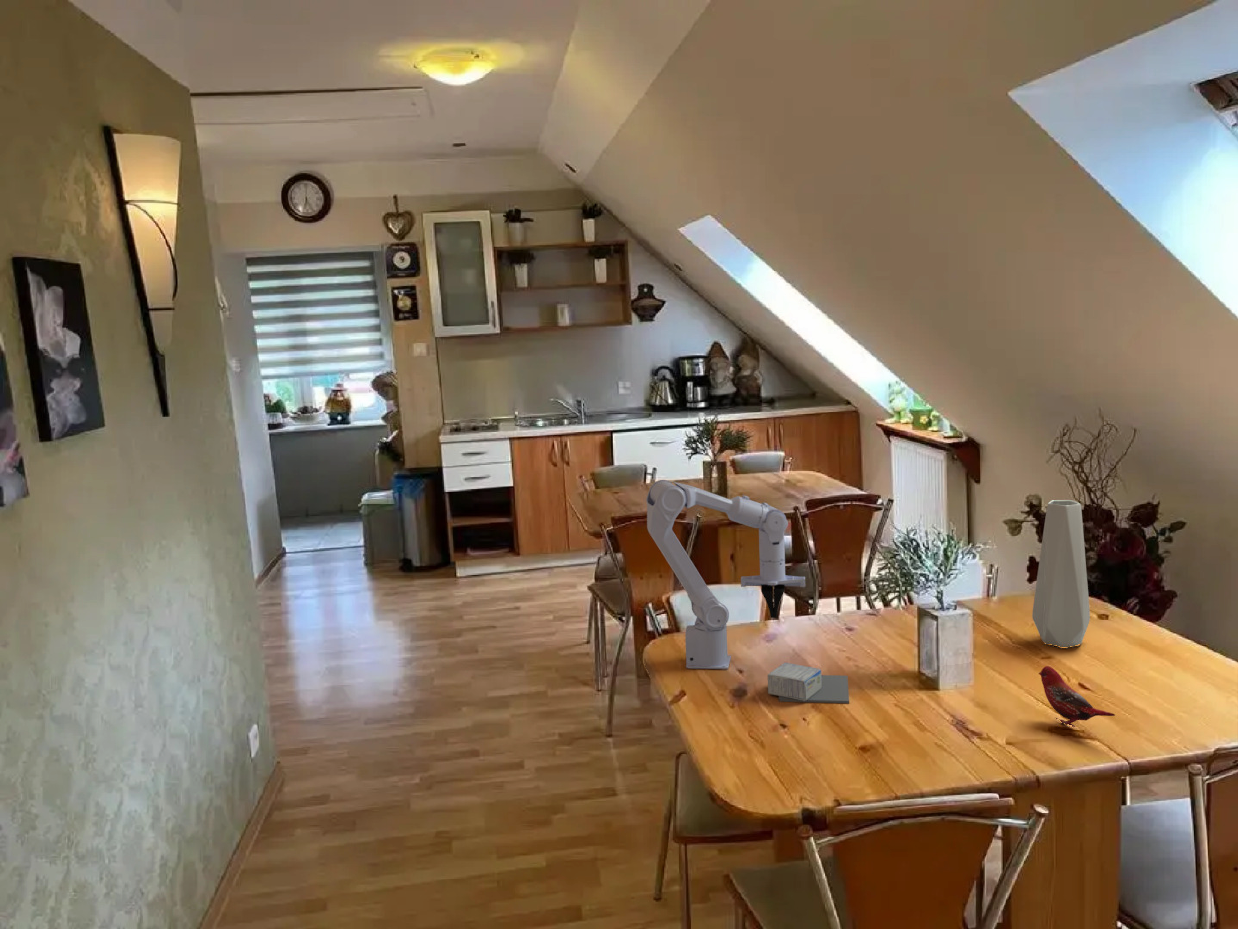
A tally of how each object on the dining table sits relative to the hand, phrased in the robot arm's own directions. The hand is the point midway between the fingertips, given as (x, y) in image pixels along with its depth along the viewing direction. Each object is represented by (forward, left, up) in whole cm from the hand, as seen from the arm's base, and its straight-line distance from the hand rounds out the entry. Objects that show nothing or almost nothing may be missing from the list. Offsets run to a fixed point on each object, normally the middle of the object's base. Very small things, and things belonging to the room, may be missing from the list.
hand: (773, 616), depth 222 cm
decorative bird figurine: (+56, -36, -10) cm, 67 cm away
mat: (+9, -20, -9) cm, 24 cm away
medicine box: (+1, -21, -7) cm, 22 cm away
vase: (+64, +12, -10) cm, 66 cm away
